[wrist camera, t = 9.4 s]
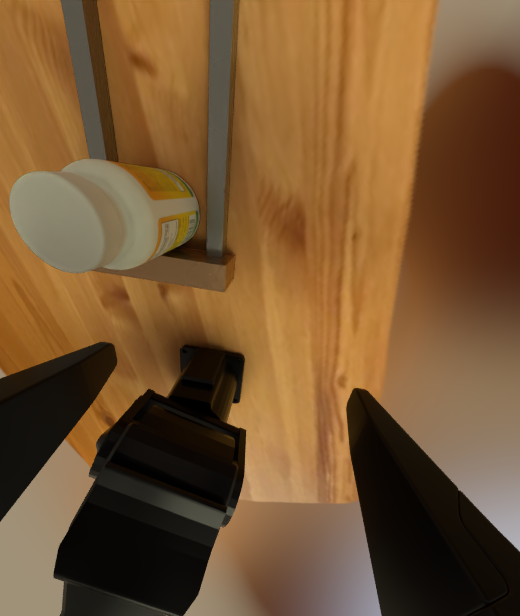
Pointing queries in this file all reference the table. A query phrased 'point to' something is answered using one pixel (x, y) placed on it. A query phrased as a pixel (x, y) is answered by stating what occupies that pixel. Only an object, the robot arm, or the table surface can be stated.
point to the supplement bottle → (103, 214)
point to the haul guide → (222, 65)
